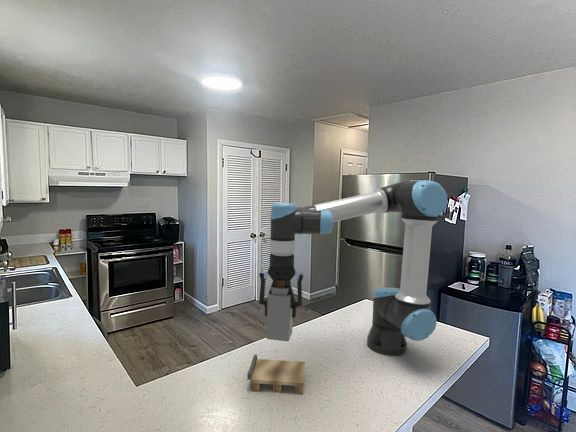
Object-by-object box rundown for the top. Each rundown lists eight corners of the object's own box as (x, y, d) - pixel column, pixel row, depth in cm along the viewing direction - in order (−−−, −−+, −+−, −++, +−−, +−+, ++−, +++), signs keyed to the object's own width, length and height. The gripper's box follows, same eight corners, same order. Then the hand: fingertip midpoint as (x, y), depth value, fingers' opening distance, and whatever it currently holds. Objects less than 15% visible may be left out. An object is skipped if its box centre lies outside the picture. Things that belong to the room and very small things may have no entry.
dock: (304, 371, 107) (305, 357, 107) (303, 394, 95) (304, 378, 95) (254, 368, 108) (254, 354, 108) (247, 390, 96) (247, 374, 96)
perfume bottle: (288, 341, 97) (290, 282, 95) (266, 339, 98) (268, 280, 97) (292, 332, 103) (294, 277, 102) (271, 329, 105) (273, 275, 103)
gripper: (312, 252, 102) (310, 323, 104) (253, 250, 103) (252, 320, 105) (312, 257, 94) (310, 333, 96) (249, 254, 96) (248, 330, 97)
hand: (280, 326), depth 101 cm, fingers closed on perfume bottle, 6 cm apart
